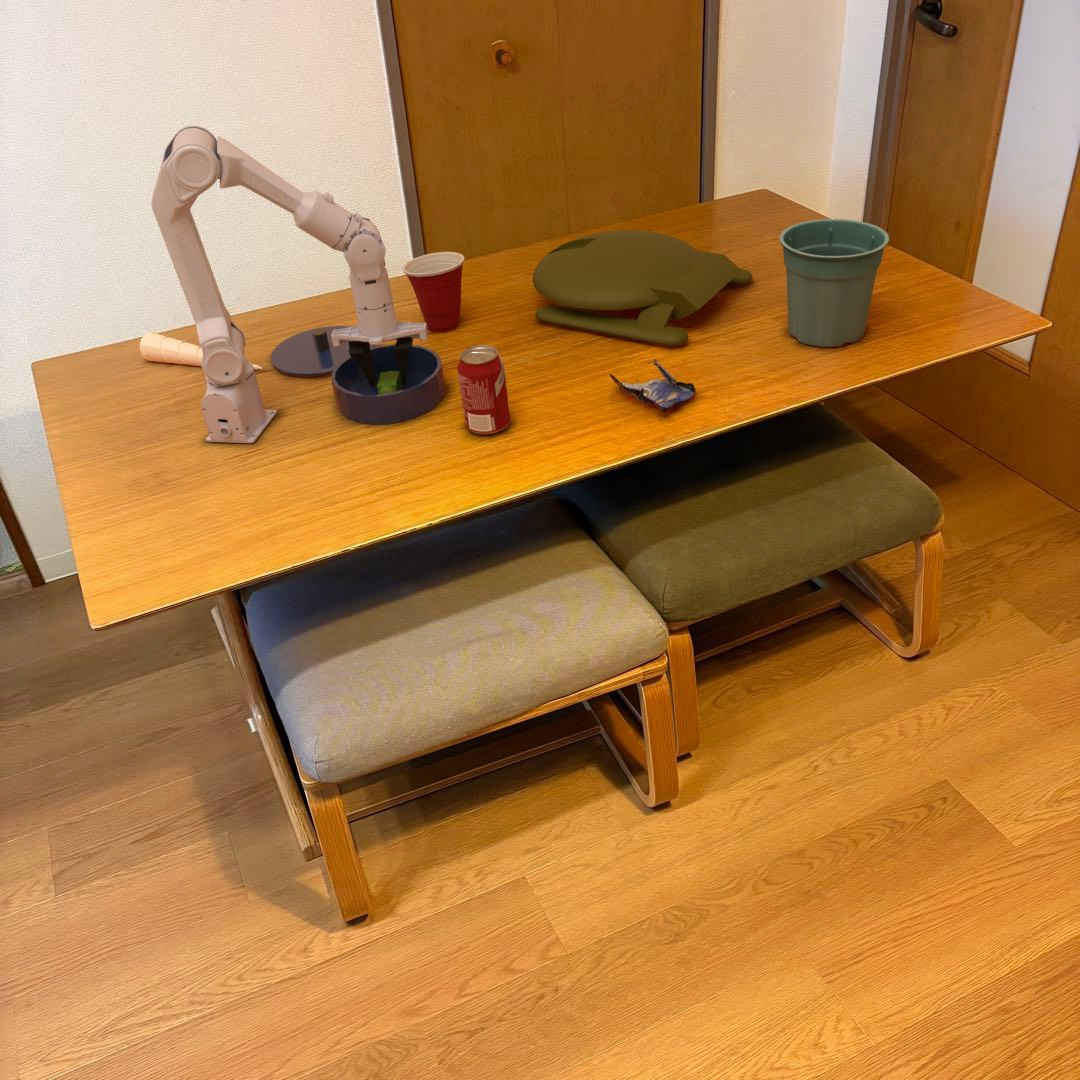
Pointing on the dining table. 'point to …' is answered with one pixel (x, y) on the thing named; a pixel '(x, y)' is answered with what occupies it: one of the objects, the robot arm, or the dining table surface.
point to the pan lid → (310, 353)
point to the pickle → (389, 382)
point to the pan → (396, 406)
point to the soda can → (483, 390)
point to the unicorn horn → (172, 350)
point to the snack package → (660, 390)
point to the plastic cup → (437, 288)
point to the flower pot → (830, 278)
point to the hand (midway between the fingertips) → (389, 382)
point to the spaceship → (631, 284)
